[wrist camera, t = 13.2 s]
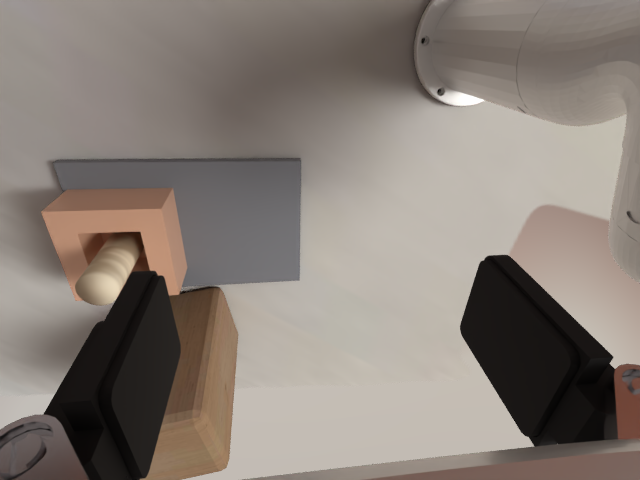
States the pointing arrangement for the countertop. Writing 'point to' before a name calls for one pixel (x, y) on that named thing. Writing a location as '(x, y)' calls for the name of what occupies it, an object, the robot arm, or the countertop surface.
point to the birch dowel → (110, 268)
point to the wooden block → (199, 389)
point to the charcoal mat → (216, 211)
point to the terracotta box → (117, 230)
